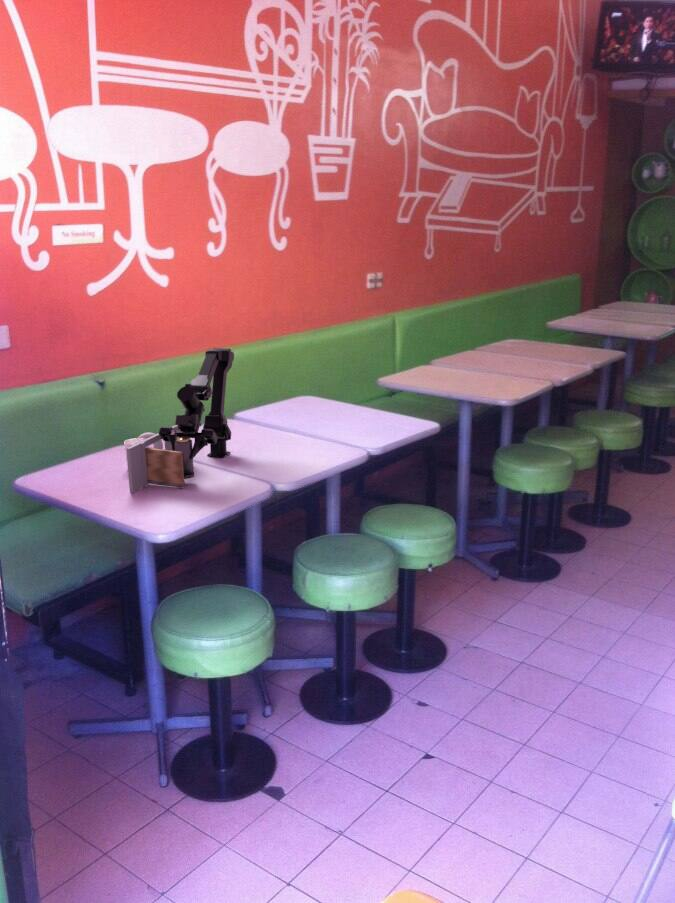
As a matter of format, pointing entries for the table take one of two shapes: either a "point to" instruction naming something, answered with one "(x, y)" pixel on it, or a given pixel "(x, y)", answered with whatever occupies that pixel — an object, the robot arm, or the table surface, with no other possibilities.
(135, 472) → the wall frame
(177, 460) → the door
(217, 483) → the table surface
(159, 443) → the donut
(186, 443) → the dark metallic tumbler
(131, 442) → the white cup
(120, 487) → the table surface
